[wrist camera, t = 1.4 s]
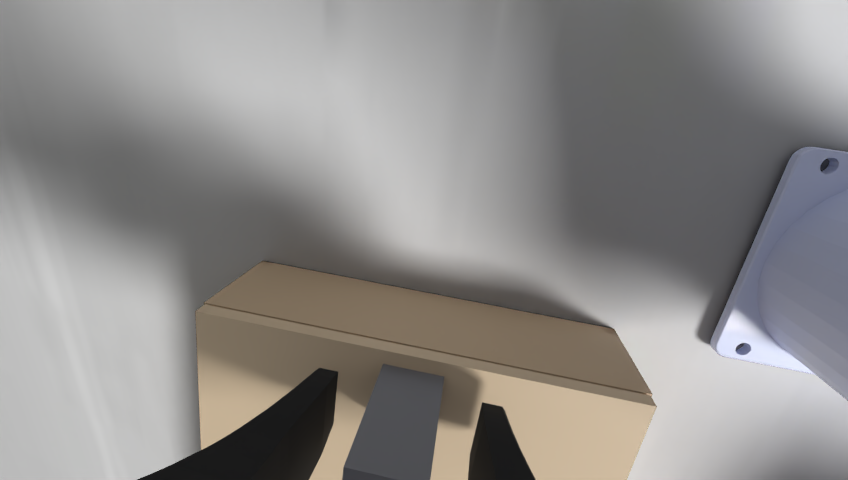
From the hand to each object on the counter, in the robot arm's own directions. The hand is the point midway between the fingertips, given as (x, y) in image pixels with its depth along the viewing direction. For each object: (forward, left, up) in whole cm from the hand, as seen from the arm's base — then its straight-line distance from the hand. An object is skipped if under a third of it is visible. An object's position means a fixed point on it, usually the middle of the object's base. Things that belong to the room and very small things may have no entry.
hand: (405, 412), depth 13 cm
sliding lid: (0, +6, -1) cm, 7 cm away
